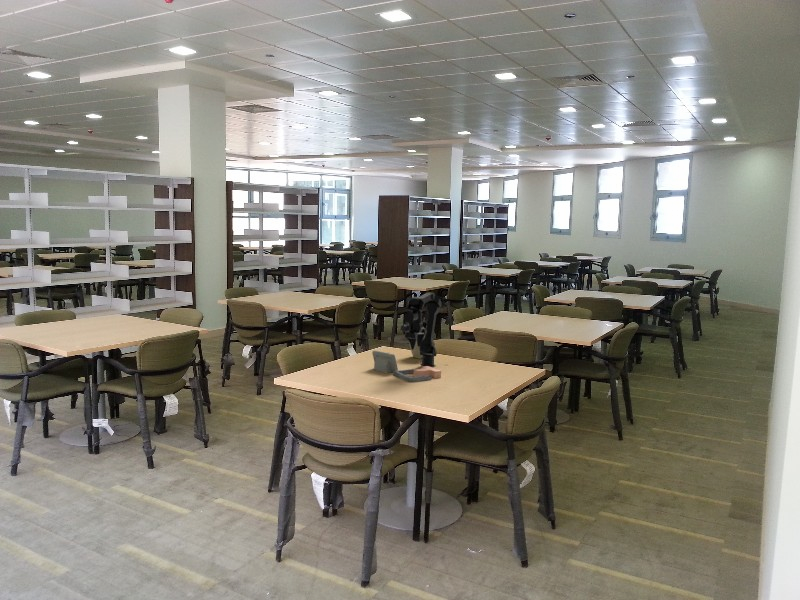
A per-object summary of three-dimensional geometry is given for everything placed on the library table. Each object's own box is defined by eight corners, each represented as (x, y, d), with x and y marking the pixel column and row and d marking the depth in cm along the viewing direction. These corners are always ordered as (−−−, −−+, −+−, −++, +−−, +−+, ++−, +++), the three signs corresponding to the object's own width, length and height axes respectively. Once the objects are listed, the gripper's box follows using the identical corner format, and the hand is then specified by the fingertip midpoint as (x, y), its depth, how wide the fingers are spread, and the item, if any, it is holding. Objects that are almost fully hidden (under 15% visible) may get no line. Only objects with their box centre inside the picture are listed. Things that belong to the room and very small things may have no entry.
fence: (413, 372, 353) (413, 368, 353) (431, 379, 338) (431, 375, 338) (392, 374, 347) (393, 371, 346) (410, 382, 331) (410, 378, 331)
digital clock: (399, 372, 353) (400, 353, 352) (386, 374, 347) (387, 355, 346) (381, 366, 365) (382, 348, 364) (369, 368, 360) (369, 350, 358)
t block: (427, 372, 355) (427, 366, 355) (440, 377, 344) (441, 370, 344) (409, 374, 349) (409, 367, 349) (422, 379, 338) (422, 372, 338)
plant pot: (410, 360, 385) (410, 334, 383) (405, 354, 400) (405, 329, 398) (433, 359, 388) (434, 333, 386) (428, 354, 403) (428, 329, 401)
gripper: (409, 316, 362) (408, 343, 364) (396, 321, 345) (395, 349, 347) (427, 318, 358) (426, 345, 360) (415, 323, 341) (414, 351, 343)
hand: (415, 348), depth 353 cm, fingers open, 9 cm apart
